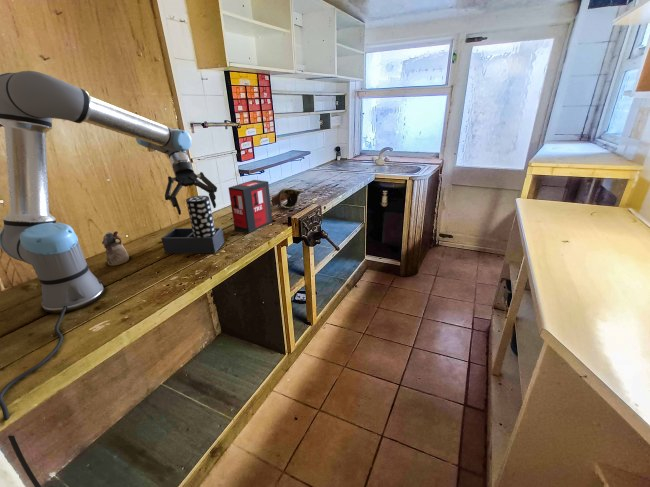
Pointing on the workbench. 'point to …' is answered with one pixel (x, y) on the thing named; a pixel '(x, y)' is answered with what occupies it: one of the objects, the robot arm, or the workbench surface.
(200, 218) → the spotted tube
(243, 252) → the workbench surface
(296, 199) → the pot
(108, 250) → the figurine
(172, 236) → the tray
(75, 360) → the workbench surface
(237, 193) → the cleaning product box
